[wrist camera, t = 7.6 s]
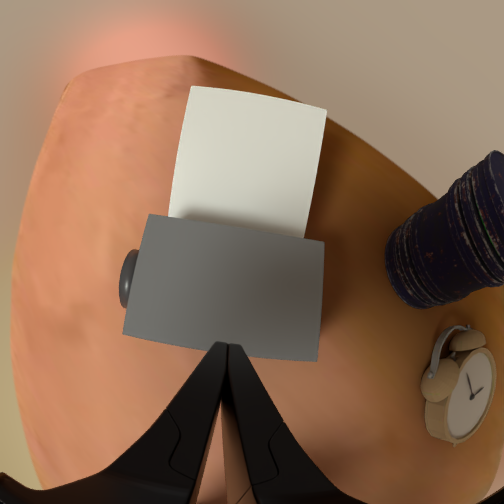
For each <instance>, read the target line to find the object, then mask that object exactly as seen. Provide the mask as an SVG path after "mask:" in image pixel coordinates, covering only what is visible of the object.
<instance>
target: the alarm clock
mask: <svg viewBox="0 0 504 504" xmlns="http://www.w3.org/2000/svg"><path fill="white" fill-rule="evenodd" d="M454 329H458V330H460V331H462V332H459V333H458V334H456V335H455V336H454V337H453V338H452V340H451V342H450V345H449V350H450V351H453V352H452V353H451V354H450V355H449V356H448V357H447V358H445V359H439V357H440V352H441V349H442V346H443V344H444V342H445V340H446V338H447V337H448V335H449V334H450V333H451V332H452V331H453V330H454ZM463 330H465V331H463ZM485 344H486V340H485V336H484V335H483V333H482V332H480V331H478V330H473V329H472V328H470V325H466V328H465V327H463V326H460V325H458V326H450V327H448V328H447V329H445V330H444V331H443V332H442V333H441V335H440V336H439V338H438V340H437V342H436V343H435V346H434V349H433V353H432V360H431V365H430V366H429V367H428V368H427V369H426V371H425V373H424V374H423V377H422V380H421V392H422V394H423V396H424V397H425V399H427V400H426V406H425V423H426V429H427V430H428V432H429V433H430V435H431V436H433V437H435V438H438V439H442V440H445V441H449V442H451V443H453V447H456V445H457V444H458V443H462V442H464V441H466V440H467V439H468V438H470V437H471V436H472V435H473V434H474V433H475V432H476V430H477V429H478V428H479V427H480V425H481V424H482V422H483V420H484V419H485V417H486V415H487V413H488V410H489V408H490V405H491V403H492V400H493V396H494V391H495V386H496V365H495V361H494V358H493V355H492V353H491V352H490V351H489V350H488V349H487V348H482V347H481V346H483V345H485Z"/></svg>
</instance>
